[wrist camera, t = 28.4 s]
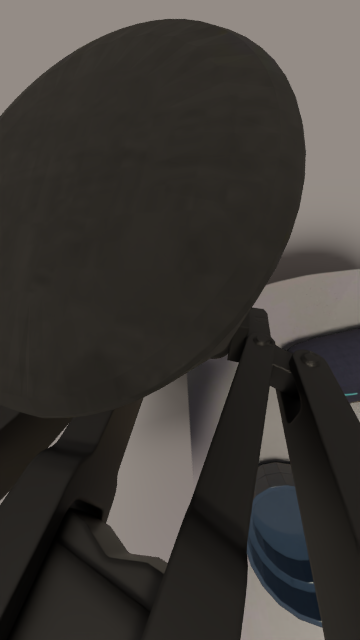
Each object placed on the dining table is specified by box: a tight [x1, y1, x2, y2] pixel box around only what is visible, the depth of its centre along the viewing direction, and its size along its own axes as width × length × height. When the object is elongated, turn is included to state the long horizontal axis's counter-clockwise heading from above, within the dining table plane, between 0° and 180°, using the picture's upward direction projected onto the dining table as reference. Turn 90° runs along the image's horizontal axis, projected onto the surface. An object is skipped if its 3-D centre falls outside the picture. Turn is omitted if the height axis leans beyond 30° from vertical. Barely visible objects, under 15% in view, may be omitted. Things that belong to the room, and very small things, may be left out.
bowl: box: [247, 462, 322, 627], centre depth 25 cm, size 15×15×6 cm
